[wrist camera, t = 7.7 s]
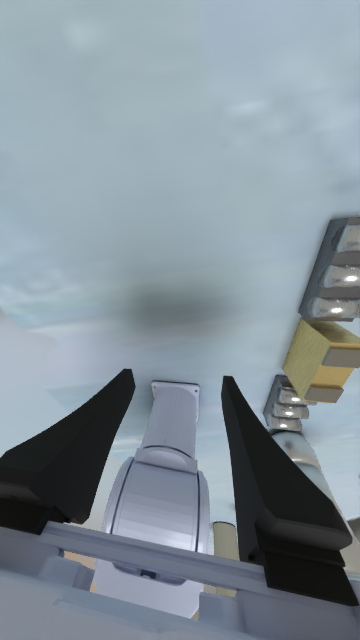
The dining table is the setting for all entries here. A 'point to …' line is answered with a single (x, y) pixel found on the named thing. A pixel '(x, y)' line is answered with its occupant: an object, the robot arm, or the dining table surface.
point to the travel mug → (225, 548)
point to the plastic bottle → (302, 454)
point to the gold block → (321, 360)
